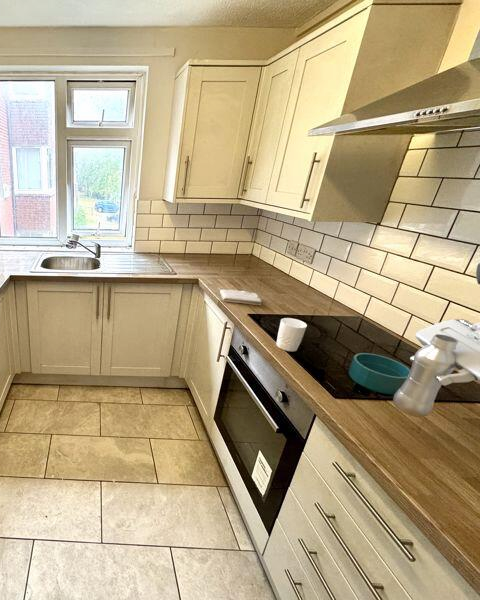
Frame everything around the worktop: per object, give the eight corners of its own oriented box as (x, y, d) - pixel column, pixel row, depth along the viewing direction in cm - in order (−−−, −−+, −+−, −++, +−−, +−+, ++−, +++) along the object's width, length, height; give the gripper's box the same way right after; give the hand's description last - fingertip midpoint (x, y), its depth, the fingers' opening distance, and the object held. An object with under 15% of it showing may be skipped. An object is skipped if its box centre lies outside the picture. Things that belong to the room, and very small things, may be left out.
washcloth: (262, 306, 151) (263, 300, 150) (222, 302, 155) (223, 296, 154) (256, 297, 161) (257, 291, 160) (219, 293, 166) (220, 288, 164)
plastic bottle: (422, 407, 76) (461, 335, 68) (431, 425, 71) (475, 349, 63) (387, 398, 79) (420, 328, 72) (393, 414, 74) (430, 340, 66)
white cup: (277, 339, 121) (284, 315, 117) (301, 347, 116) (309, 322, 112) (271, 346, 116) (278, 322, 112) (296, 355, 111) (303, 329, 107)
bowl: (390, 373, 101) (397, 357, 99) (414, 399, 89) (423, 382, 87) (341, 365, 105) (346, 349, 103) (358, 389, 94) (365, 372, 91)
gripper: (451, 307, 74) (387, 338, 80) (550, 353, 55) (456, 390, 61) (465, 325, 75) (400, 355, 81) (567, 377, 56) (473, 412, 62)
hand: (425, 371), depth 71 cm, fingers closed on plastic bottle, 6 cm apart
